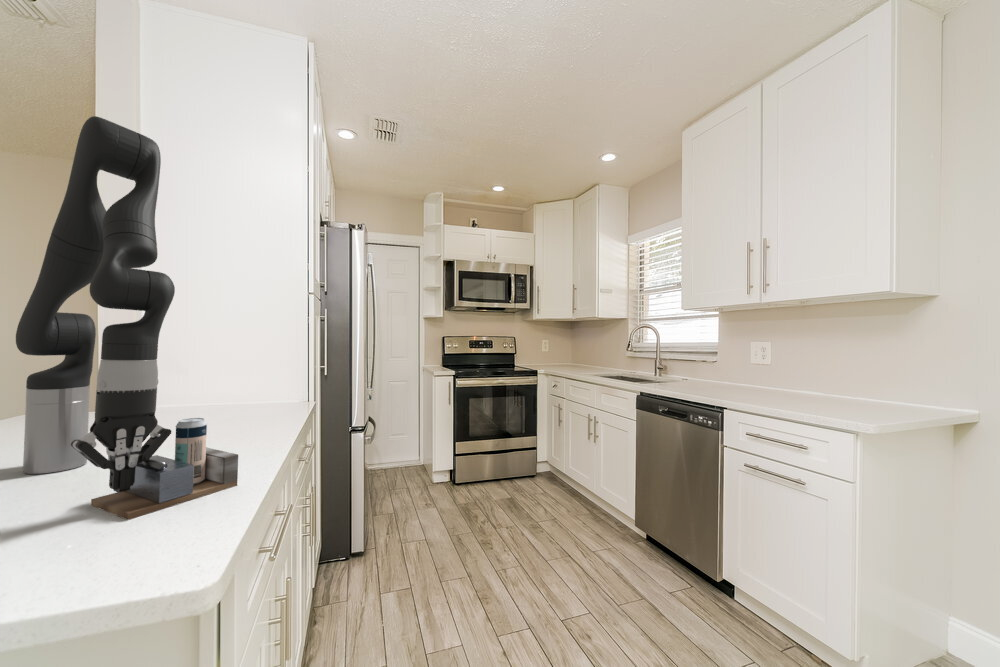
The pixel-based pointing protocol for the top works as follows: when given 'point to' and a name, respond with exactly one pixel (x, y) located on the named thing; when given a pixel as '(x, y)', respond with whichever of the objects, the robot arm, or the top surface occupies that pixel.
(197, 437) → the beer can
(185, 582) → the top surface
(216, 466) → the vise base
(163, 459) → the box
